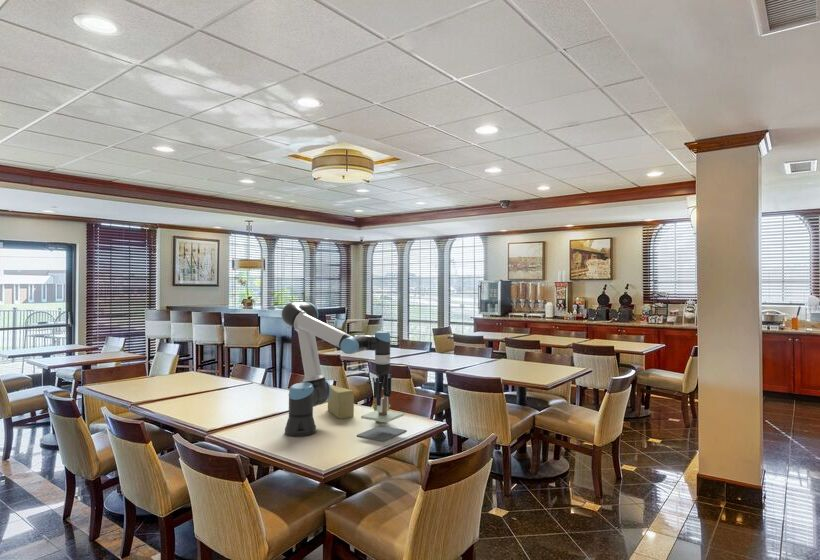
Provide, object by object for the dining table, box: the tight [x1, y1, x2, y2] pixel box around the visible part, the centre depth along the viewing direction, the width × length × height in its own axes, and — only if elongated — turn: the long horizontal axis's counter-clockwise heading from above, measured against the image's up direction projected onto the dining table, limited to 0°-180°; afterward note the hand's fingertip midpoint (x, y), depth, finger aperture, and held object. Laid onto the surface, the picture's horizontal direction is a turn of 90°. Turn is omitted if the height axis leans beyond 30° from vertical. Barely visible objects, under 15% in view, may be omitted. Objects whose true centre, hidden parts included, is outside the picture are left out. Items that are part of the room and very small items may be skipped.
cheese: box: [327, 384, 355, 420], centre depth 269 cm, size 22×10×15 cm, turn 36°
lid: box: [360, 396, 405, 424], centre depth 232 cm, size 15×15×9 cm
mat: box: [356, 424, 408, 443], centre depth 232 cm, size 20×16×1 cm
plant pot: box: [372, 403, 391, 424], centre depth 254 cm, size 9×9×9 cm
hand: (382, 410), depth 232 cm, fingers closed on lid, 4 cm apart
